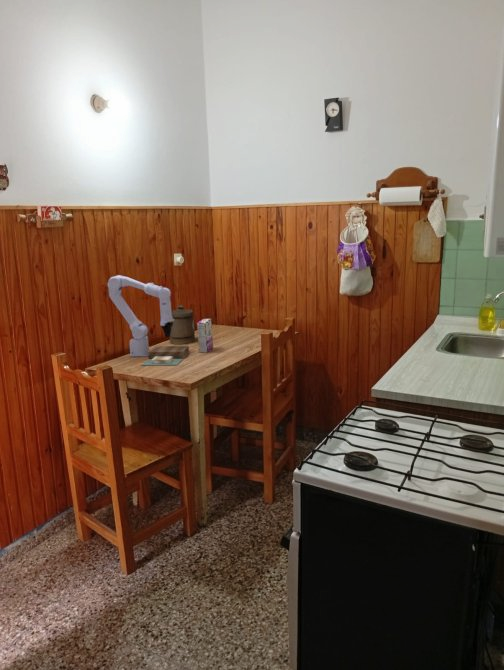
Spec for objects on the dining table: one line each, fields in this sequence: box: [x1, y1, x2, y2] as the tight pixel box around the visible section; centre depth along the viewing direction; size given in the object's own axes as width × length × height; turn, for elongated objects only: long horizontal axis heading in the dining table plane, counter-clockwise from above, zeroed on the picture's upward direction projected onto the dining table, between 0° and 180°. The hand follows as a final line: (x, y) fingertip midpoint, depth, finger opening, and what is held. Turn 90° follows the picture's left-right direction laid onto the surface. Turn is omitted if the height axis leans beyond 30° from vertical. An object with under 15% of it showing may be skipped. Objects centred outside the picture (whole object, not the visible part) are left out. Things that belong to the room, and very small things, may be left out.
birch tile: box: [152, 356, 173, 364], centre depth 239 cm, size 9×6×2 cm, turn 83°
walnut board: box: [148, 345, 190, 360], centre depth 250 cm, size 18×12×4 cm, turn 83°
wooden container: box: [169, 304, 196, 345], centre depth 282 cm, size 15×15×22 cm
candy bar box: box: [196, 318, 214, 354], centre depth 259 cm, size 11×5×16 cm, turn 168°
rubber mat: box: [141, 358, 184, 367], centre depth 239 cm, size 18×11×1 cm, turn 83°
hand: (167, 336), depth 254 cm, fingers closed
